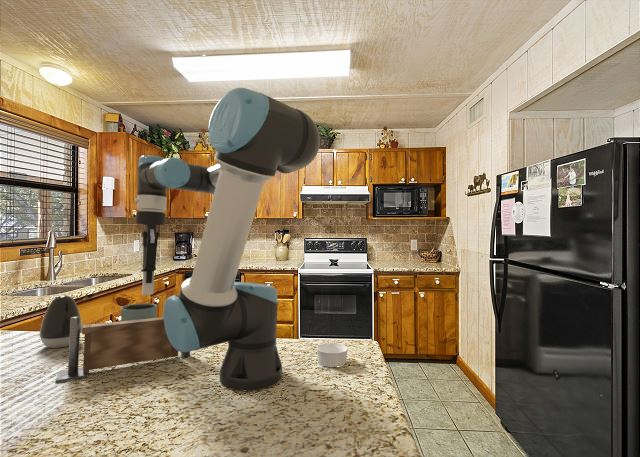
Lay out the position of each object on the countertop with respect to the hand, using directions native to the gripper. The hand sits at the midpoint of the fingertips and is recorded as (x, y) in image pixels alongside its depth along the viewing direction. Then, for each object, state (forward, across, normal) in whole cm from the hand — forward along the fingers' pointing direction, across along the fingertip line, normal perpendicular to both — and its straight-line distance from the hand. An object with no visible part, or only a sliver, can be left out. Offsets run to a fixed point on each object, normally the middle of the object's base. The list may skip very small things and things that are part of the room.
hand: (147, 294), depth 93 cm
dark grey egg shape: (+18, -23, -21) cm, 36 cm away
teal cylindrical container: (+18, -13, -1) cm, 22 cm away
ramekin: (+18, +29, +44) cm, 56 cm away
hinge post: (+18, +5, -16) cm, 24 cm away
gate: (+17, +5, -3) cm, 18 cm away
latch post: (+18, +5, +10) cm, 21 cm away
